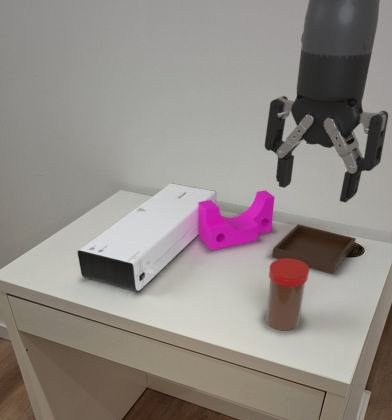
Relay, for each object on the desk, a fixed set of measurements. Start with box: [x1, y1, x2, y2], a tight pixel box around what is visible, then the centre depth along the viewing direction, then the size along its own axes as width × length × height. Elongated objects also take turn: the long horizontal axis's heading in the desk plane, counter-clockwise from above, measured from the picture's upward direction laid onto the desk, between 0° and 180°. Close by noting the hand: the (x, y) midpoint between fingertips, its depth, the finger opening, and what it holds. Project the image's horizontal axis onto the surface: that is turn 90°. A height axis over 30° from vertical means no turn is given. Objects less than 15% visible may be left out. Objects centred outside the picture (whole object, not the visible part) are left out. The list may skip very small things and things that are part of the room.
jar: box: [265, 278, 306, 332], centre depth 74 cm, size 5×5×9 cm
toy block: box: [198, 189, 276, 251], centre depth 97 cm, size 15×6×8 cm, turn 113°
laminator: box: [77, 182, 217, 293], centre depth 94 cm, size 34×12×6 cm, turn 154°
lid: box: [268, 258, 310, 287], centre depth 71 cm, size 6×6×2 cm
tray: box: [271, 223, 357, 275], centre depth 93 cm, size 12×12×2 cm
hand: (313, 192), depth 62 cm, fingers open, 8 cm apart
